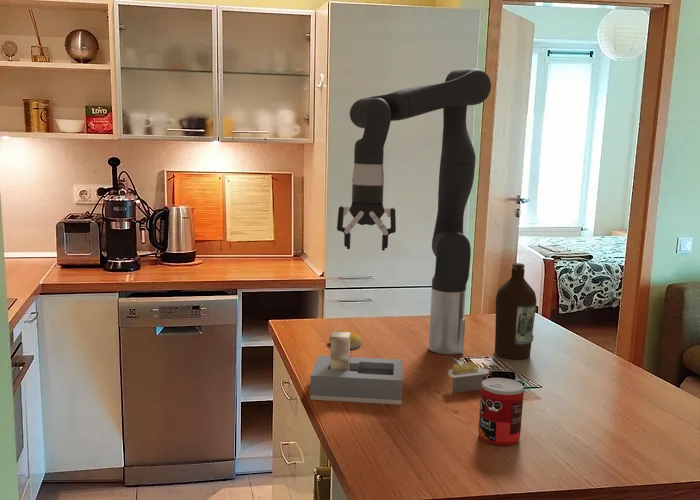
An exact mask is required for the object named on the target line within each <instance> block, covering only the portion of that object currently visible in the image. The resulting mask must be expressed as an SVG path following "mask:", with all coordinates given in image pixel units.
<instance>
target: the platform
mask: <svg viewBox="0 0 700 500" xmlns="http://www.w3.org/2000/svg"><path fill="white" fill-rule="evenodd" d="M452 366H453V367H452V368H451V369H448V371H447V374H448V377H450V378H452V390H451V391H452V394H456V393H463V392H465V393H466V392H472V391H479V390H480V391H481V385H482V381H483V380H484V375H488V374H489V373H490V372H489V370H488V369H487V368H481V367H479V364H478V363H477V364H475V362H473V361H472V362H464V363H455V364H453V365H452Z"/></svg>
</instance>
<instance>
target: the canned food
mask: <svg viewBox="0 0 700 500" xmlns="http://www.w3.org/2000/svg"><path fill="white" fill-rule="evenodd" d="M524 387H525V386H524V385H523V384H522V383H521V382H519V381H517V380H514V379H512V378H505V377H490V378H486V379H483V381H482V385H481V390H480V399H479V400H480V401H479V416H478V435H479V437H480V439H481V440H482V441H483V442H485V443H487V444H490V445H493V446H497V447H498V446H499V447H510V446H514V445H516V444H517V443H518V442H519V441H520V440H521V439H520V438H521V432H522V431H521V430H522V418H523V417H522V416H523V407H524V406H523V404H524V394H525V393H524V389H525V388H524Z"/></svg>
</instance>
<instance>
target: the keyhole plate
mask: <svg viewBox="0 0 700 500" xmlns="http://www.w3.org/2000/svg"><path fill="white" fill-rule="evenodd" d="M403 361H404V360H403V359H395V358H394V359H393V358H373V357H359V356H358V357H356V356H354V357H353V356H350V362H349V371H341V370H330V362H331V355H318V356H317V358H316V361H315V364H314V366H313V370H312V371H311V374H310V389H309V390H310V392H309V396H310V397H309V399H310V400H313V401H329V402H330V401H331V402H333V401H334V402H347V403H349V402H351V403H362V404H363V403H365V404H379V405H380V404H383V405H384V404H385V405H399V406H400V405H402V402H403V400H402V399H403V382H404V379H403V365H404V364H403Z"/></svg>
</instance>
